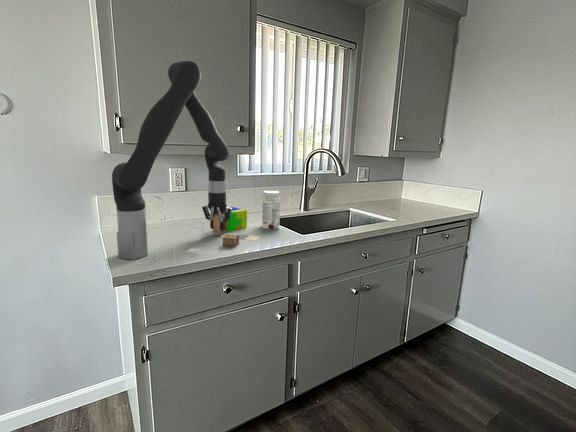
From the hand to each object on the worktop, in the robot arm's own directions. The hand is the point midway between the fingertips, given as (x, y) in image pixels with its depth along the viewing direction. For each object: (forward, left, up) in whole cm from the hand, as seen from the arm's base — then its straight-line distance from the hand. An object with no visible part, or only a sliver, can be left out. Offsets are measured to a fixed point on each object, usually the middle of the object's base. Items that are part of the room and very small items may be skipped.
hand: (217, 229), depth 145 cm
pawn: (0, 0, -1) cm, 1 cm away
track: (0, -8, -4) cm, 9 cm away
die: (-12, -11, -4) cm, 17 cm away
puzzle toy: (+14, -1, -4) cm, 15 cm away
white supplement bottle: (+21, -18, -4) cm, 28 cm away
